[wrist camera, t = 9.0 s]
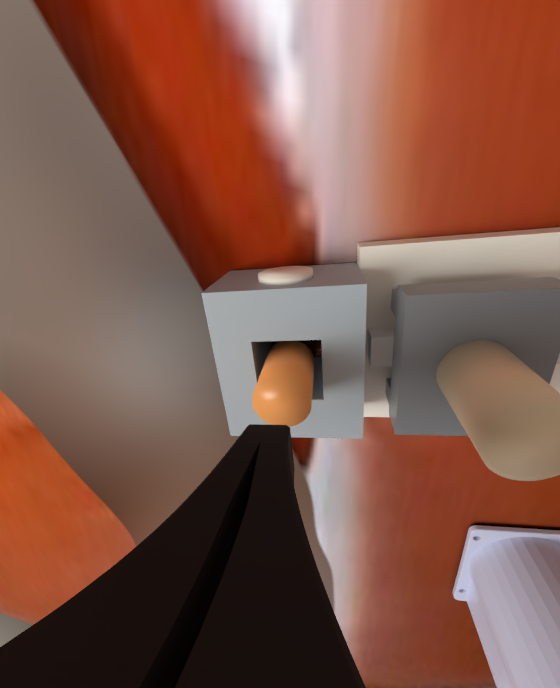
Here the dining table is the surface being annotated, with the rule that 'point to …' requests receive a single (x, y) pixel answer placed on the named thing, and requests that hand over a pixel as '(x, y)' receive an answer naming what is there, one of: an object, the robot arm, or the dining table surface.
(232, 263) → the dining table surface
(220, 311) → the grey block with socket
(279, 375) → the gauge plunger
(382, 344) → the rail track
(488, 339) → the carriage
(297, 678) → the robot arm
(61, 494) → the dining table surface
